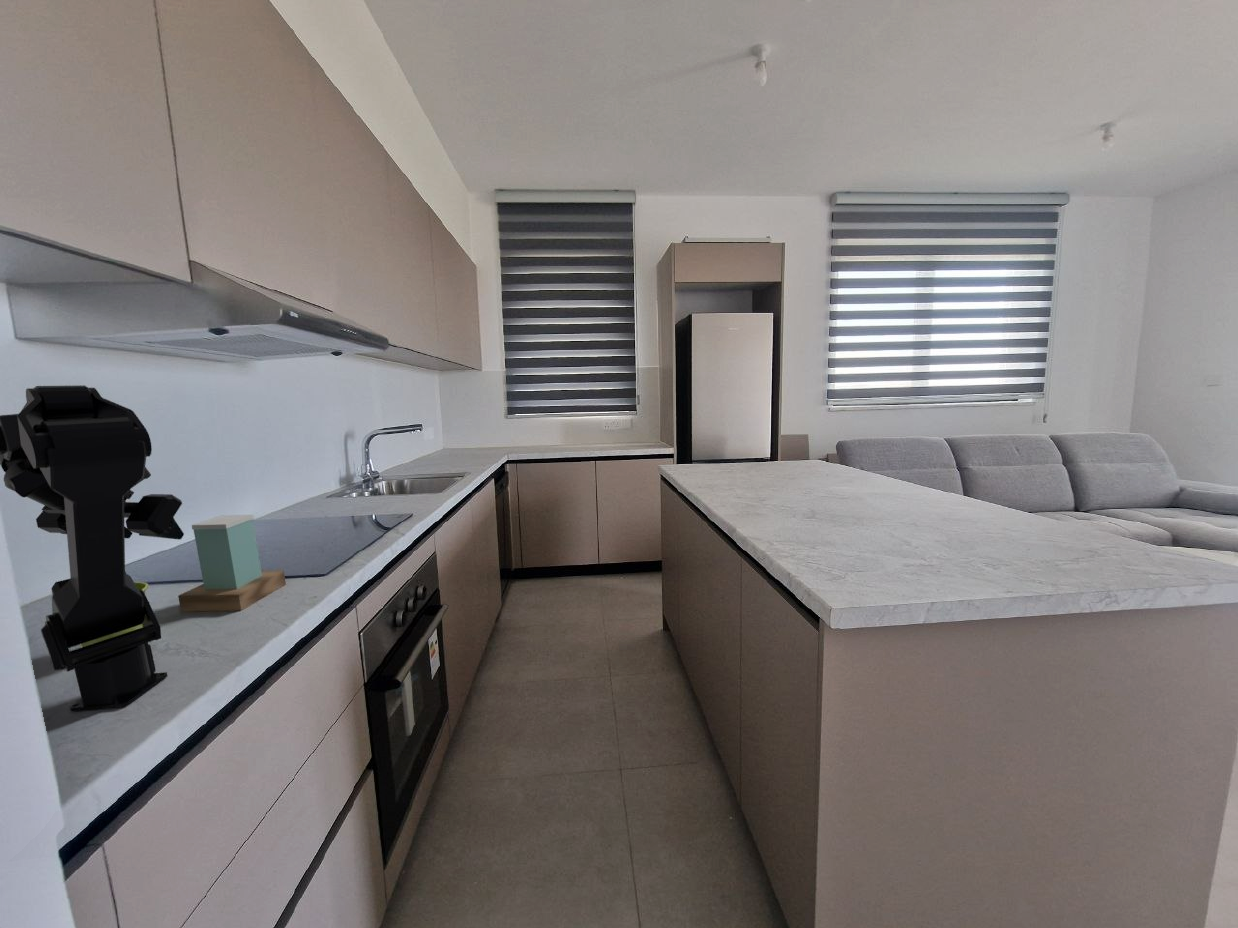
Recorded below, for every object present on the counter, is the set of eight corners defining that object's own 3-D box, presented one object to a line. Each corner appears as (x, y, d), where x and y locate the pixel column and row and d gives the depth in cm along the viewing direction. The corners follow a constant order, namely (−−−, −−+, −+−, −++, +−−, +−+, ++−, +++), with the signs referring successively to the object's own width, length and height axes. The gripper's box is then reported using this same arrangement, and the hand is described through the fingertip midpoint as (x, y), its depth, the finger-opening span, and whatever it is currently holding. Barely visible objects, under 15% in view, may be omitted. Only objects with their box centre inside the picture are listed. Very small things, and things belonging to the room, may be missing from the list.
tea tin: (237, 589, 85) (225, 524, 83) (203, 589, 85) (191, 525, 83) (263, 575, 91) (253, 514, 89) (231, 575, 91) (221, 515, 89)
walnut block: (241, 610, 83) (238, 594, 83) (181, 611, 83) (178, 595, 83) (285, 584, 94) (283, 570, 94) (232, 585, 94) (230, 571, 94)
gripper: (159, 445, 71) (232, 496, 84) (43, 443, 72) (132, 494, 85) (112, 509, 65) (198, 554, 78) (-15, 506, 66) (92, 551, 79)
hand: (155, 536), depth 80 cm, fingers open, 9 cm apart
